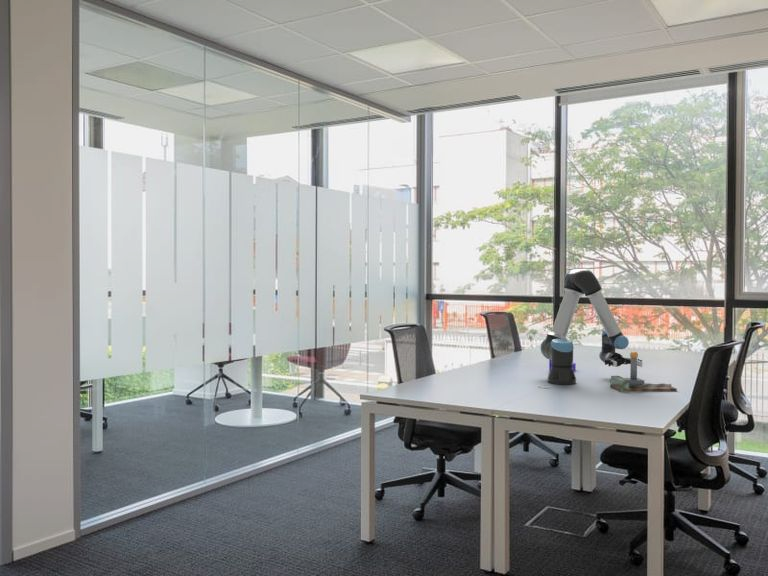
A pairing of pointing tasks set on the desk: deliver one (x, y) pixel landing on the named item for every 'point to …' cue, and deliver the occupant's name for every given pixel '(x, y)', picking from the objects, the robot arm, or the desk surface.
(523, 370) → the desk surface
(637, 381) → the lever
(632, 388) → the track bed
